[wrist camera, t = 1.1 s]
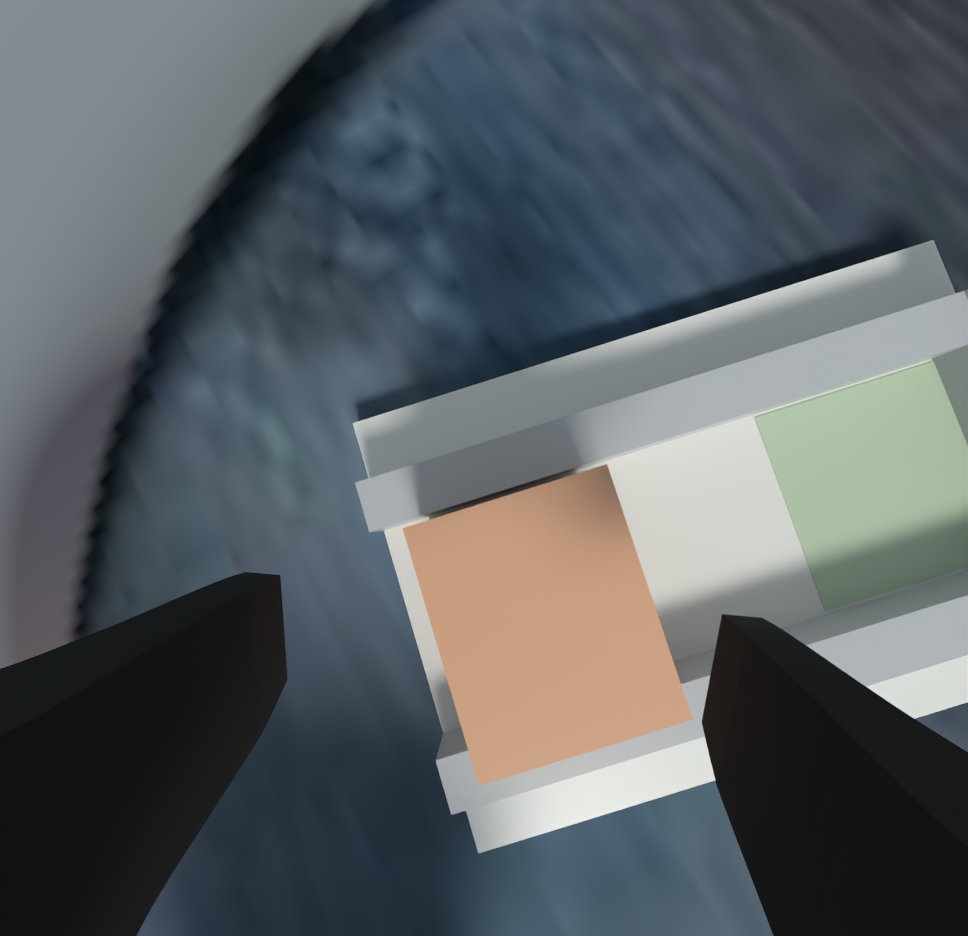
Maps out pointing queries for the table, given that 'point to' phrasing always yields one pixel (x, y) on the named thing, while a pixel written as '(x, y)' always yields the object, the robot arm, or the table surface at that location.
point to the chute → (723, 503)
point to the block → (545, 625)
